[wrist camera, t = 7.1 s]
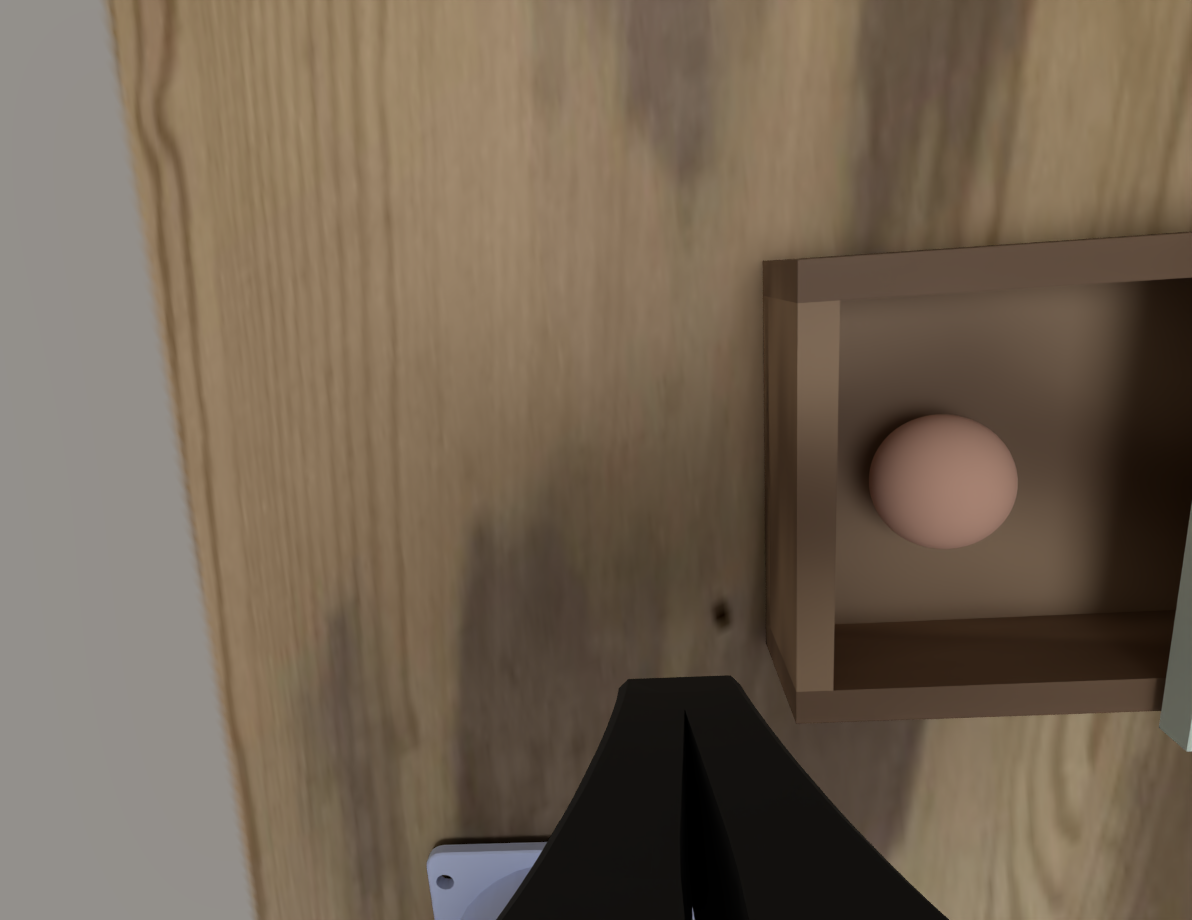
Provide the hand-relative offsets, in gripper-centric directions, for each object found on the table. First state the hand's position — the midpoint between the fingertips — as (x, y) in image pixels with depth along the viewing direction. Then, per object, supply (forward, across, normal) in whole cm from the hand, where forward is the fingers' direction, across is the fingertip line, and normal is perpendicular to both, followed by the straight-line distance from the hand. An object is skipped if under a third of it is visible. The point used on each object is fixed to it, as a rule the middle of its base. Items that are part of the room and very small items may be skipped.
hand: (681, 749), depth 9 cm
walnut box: (+10, -9, 0) cm, 14 cm away
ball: (+10, -6, 0) cm, 12 cm away
